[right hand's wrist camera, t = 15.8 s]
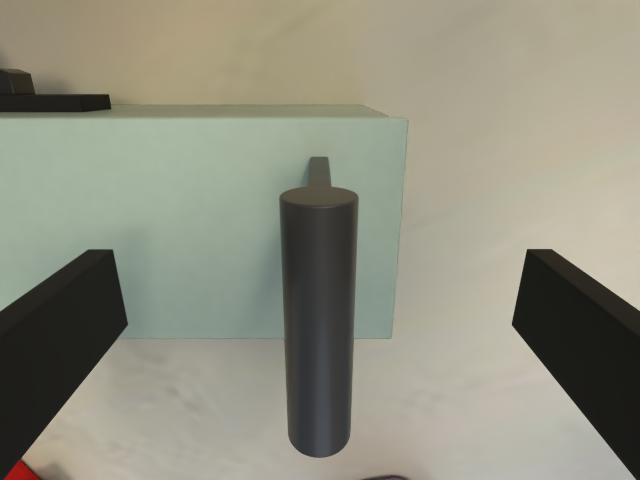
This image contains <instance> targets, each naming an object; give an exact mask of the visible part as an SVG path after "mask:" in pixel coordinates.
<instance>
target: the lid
mask: <svg viewBox="0 0 640 480" xmlns="http://www.w3.org/2000/svg"><path fill="white" fill-rule="evenodd" d="M407 133H408V119H407V118H405V117H0V311H1V310H3V309H4V308H5V307H7V306H8V305H10V304H11V303H13V302H14V301H15V300H17V299H18V298H20V297H21V296H23V295H24V294H25V293H27V292H28V291H30V290H31V289H33V288H34V287H35V286H37V285H38V284H40V283H41V282H42V281H44V280H45V279H47V278H48V277H50V276H51V275H52V274H54V273H55V272H57V271H58V270H60V269H61V268H62V267H64V266H65V265H67V264H68V263H70V262H71V261H72V260H74V259H75V258H77V257H78V256H79V255H81V254H82V253H84V252H85V251H87V250H88V249H113V252H114V257H115V262H116V267H117V272H118V277H119V282H120V286H121V291H122V296H123V301H124V306H125V311H126V316H127V321H128V326H127V327H126V328H125V330H124V331H123V332H122V333H121V335H120V336H119V337H118V338H117V339H285V364H286V390H287V416H288V436H289V439H290V441H291V443H292V445H293V446H294V447H295V448H296V449H297V450H298V451H299V452H301V453H302V454H304V455H307V456H310V457H317V458H322V457H328V456H332V455H334V454H336V453H338V452H339V451H340V450H342V449H343V448H344V447H345V445H346V444H347V442H348V440H349V437H350V426H351V399H352V371H353V344H354V339H391V337H392V327H393V314H394V301H395V288H396V275H397V262H398V249H399V236H400V223H401V211H402V198H403V185H404V172H405V159H406V146H407Z"/></svg>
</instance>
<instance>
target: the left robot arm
mask: <svg viewBox="0 0 640 480" xmlns="http://www.w3.org/2000/svg"><path fill="white" fill-rule="evenodd" d="M108 109H111V104H110V98H109V94H35V91H34V87H33V82H32V78H31V74H29V73H27V72H24V71H21V70H17V69H0V112H90V111H99V110H108Z"/></svg>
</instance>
